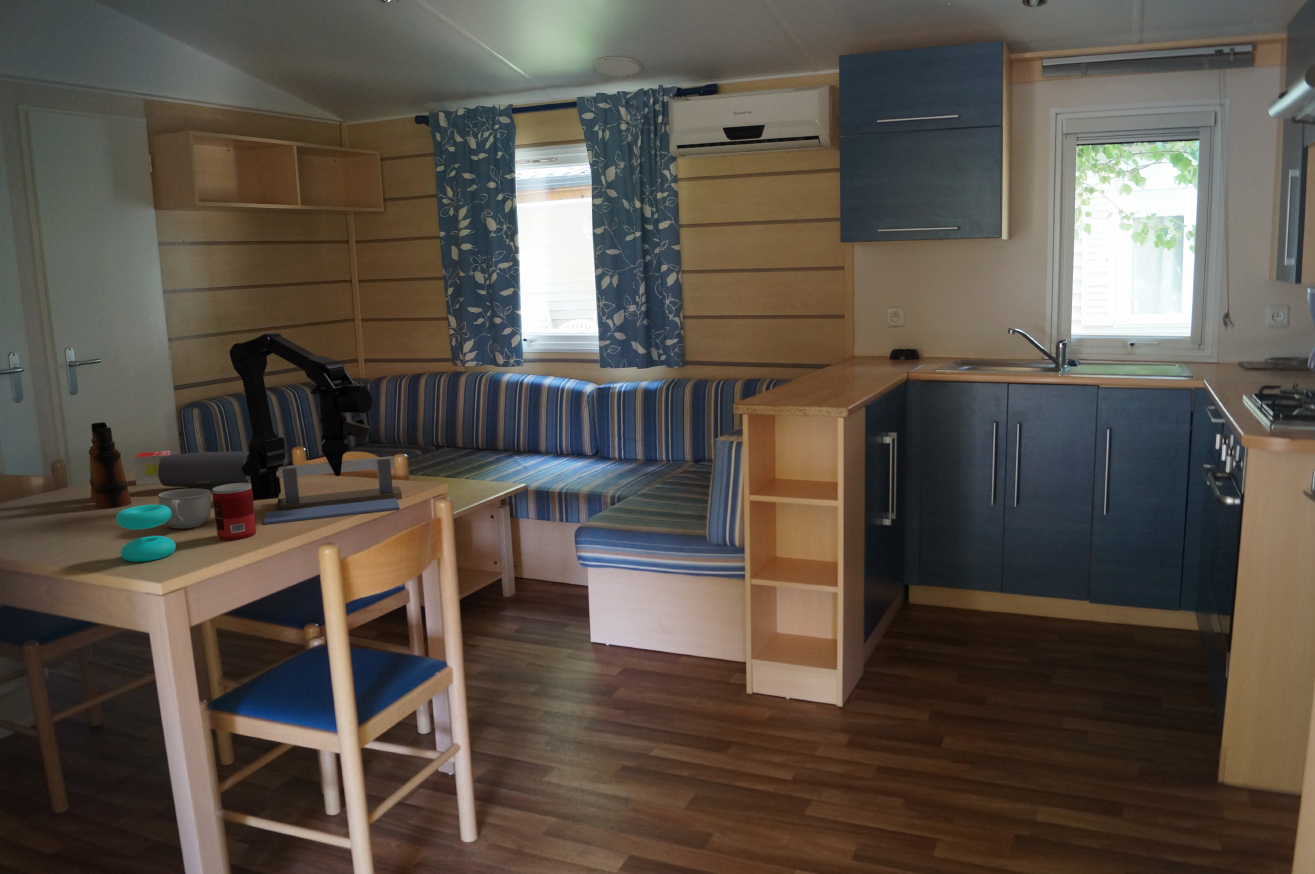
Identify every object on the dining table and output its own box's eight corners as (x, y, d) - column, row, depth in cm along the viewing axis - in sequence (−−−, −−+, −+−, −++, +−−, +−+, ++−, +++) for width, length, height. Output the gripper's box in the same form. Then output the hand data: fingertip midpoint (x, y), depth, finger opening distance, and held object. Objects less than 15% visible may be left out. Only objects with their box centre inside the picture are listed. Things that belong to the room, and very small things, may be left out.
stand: (277, 511, 234) (273, 472, 233) (278, 504, 242) (274, 466, 240) (402, 498, 243) (398, 460, 242) (399, 491, 251) (396, 455, 249)
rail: (279, 478, 236) (278, 468, 236) (279, 476, 238) (278, 466, 238) (394, 467, 245) (393, 457, 244) (393, 465, 247) (393, 456, 246)
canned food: (264, 532, 216) (259, 483, 214) (238, 541, 208) (232, 491, 207) (236, 530, 218) (230, 482, 216) (209, 540, 211) (203, 490, 209)
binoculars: (89, 498, 258) (79, 423, 255) (124, 493, 263) (114, 419, 260) (96, 510, 243) (85, 431, 240) (133, 505, 248) (123, 427, 245)
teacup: (177, 520, 230) (173, 487, 228) (222, 519, 229) (218, 485, 228) (145, 536, 216) (140, 501, 215) (193, 535, 216) (188, 499, 214)
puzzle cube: (136, 485, 273) (132, 457, 272) (143, 479, 281) (140, 452, 279) (167, 483, 275) (164, 455, 274) (174, 477, 282) (170, 450, 281)
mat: (263, 524, 222) (263, 522, 222) (265, 514, 232) (265, 512, 232) (399, 509, 232) (399, 506, 232) (396, 500, 241) (396, 498, 241)
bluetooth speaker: (258, 482, 270) (254, 447, 268) (245, 490, 261) (241, 453, 259) (175, 486, 269) (171, 450, 268) (159, 494, 260) (154, 457, 258)
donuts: (181, 503, 202) (147, 515, 192) (187, 549, 204) (153, 564, 194) (139, 502, 204) (103, 514, 194) (145, 549, 206) (110, 563, 196)
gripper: (368, 414, 233) (373, 478, 235) (364, 405, 250) (370, 465, 253) (318, 418, 229) (325, 483, 232) (318, 408, 247) (324, 469, 249)
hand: (338, 474), depth 242 cm, fingers closed on rail, 2 cm apart
